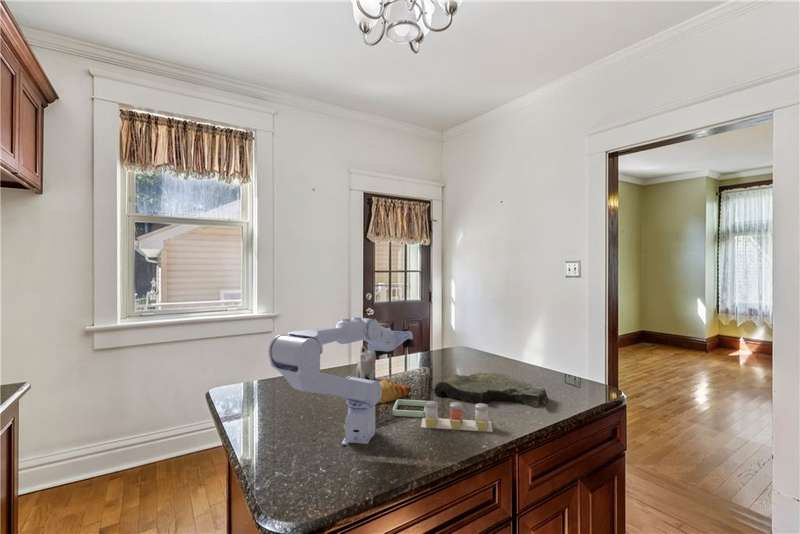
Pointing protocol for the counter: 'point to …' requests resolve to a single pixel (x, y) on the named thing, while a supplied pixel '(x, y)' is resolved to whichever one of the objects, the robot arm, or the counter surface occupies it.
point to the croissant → (392, 391)
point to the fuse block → (457, 424)
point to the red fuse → (456, 412)
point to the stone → (491, 389)
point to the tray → (408, 412)
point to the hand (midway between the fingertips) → (402, 347)
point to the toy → (366, 364)
